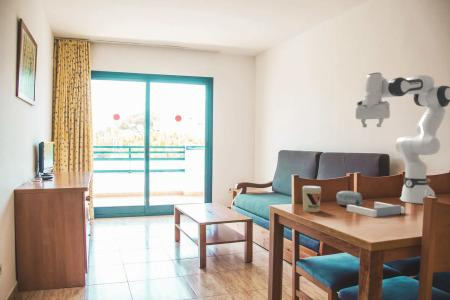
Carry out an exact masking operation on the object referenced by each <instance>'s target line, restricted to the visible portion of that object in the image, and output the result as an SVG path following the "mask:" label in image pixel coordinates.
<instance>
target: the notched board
mask: <svg viewBox="0 0 450 300" xmlns="http://www.w3.org/2000/svg"><path fill="white" fill-rule="evenodd" d="M346 212H350V213H354V214H359V215H362V216H366V217H371V218H377V217H384V216H393V215H400V213H401V214H405V207H404V206H402V205H400V204H392V203H385V202H380V201H374V206H373V208H368V207H363V206H360V207H359V206H355V205H347V206H346Z"/></svg>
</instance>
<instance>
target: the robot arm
mask: <svg viewBox="0 0 450 300" xmlns="http://www.w3.org/2000/svg"><path fill="white" fill-rule="evenodd" d="M364 84H365V85H364V90H365V94H364V98H363V99H361V100H359V101H357V102H356V106H357V107H356V108H355V119H356V120H360V122H361V124H362V128H367V127H368V124H367V123H366V120H378V123H376V127H377V128H382V124H383V122H384V119H386V120H387V119H389V118H390V117H391V112H390V111H391V109H390V102H388V101H386V100H385V101H382V99H383V98H384V99H385V98H394V97H395V98H396V97H404V96H405V95H407V94H408V95H413V102H414V104H415V105H416V106H417V107H426V106H427V107H426V109H425V111H424V112H423V114H422V116H421V118H420V119H419V121H418V122H417V124H416V131H417V132H418V133H419V134H418V135H404V136H400V137H398V138H397V139H396V141H395V144H394V145H395V146H394V147H395V150H396V151H397V152H398V153H399V154H400V155H401V157H402V158H403V161H404V166H405V167H404V168H405V169H404V170H405V173H404V179H403V183H404V184H403V186H402V189H401V190H402V191H401V196H400V197H399V200H400V201H402V202H405V203H411V204H421V205H423V198H424V197H425V196H434V197H436V194H435V191H434V190H433V189H432V187H430V186H429V184H428V183H431V178H427V164H426V163H425V162H423V161H422V160H421V159H420V156H430V155H436V154H437V153H439V151H440V149H441V142H440V139H438V137H437V132H438V130H439V128H440V126H441V125H442V123H443V120H444V118H445V114H446V109H445V107H447V106H448V105H449V103H450V86H448V85H439V86H434V85H435V81H434V78H433V77H431V76H430V75H427V74H416V75H411V76H408V77H406V78H404V77H400V76H399V77H396V78H391V79H386V78H385V77H384V76H383V75H382V73H381V72H373V73H369V74H367V75H366V77H365V83H364ZM419 155H420V156H419Z"/></svg>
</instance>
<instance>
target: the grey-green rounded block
mask: <svg viewBox="0 0 450 300" xmlns="http://www.w3.org/2000/svg"><path fill="white" fill-rule="evenodd" d="M336 202H337V204H338V205H340V206H343V207H347V205H355V206H359V207H362V205H363V196H362V194H361V193H360V192H357V191H353V190H341V191H338V192H337V193H336Z"/></svg>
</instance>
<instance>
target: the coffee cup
mask: <svg viewBox="0 0 450 300" xmlns="http://www.w3.org/2000/svg"><path fill="white" fill-rule="evenodd" d="M321 195H322V186H318V185H317V186H316V185H303V186H302V209H303V210H302V211H304V212H308V213H317V212H319V211H320V204H321Z"/></svg>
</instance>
